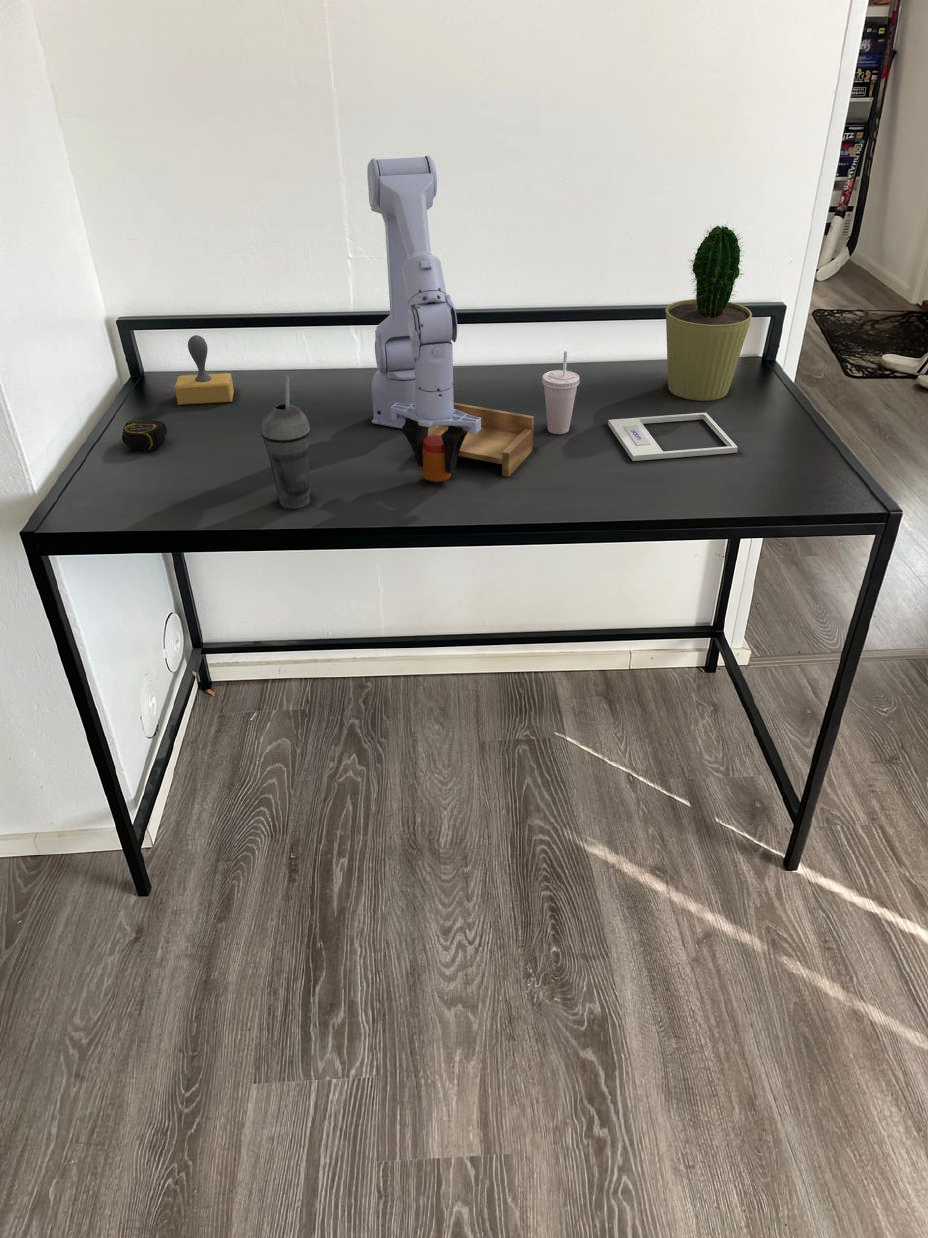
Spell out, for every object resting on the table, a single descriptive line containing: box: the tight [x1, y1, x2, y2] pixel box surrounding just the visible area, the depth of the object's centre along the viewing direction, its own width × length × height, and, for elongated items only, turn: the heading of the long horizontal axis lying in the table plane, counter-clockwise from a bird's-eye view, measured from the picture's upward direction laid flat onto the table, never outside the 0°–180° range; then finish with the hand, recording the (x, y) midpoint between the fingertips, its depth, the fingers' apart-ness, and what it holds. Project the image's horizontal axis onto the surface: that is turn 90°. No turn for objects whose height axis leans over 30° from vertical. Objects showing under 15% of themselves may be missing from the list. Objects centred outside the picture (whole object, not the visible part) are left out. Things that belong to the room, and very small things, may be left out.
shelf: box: [428, 402, 535, 478], centre depth 156 cm, size 16×11×6 cm, turn 65°
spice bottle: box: [422, 435, 452, 483], centre depth 148 cm, size 4×4×6 cm
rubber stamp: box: [174, 334, 235, 406], centre depth 176 cm, size 10×6×12 cm, turn 97°
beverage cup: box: [260, 375, 312, 510], centre depth 140 cm, size 7×7×20 cm
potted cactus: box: [664, 221, 753, 401], centre depth 172 cm, size 15×15×30 cm
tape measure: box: [121, 420, 168, 451], centre depth 161 cm, size 7×7×4 cm
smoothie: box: [541, 350, 580, 435], centre depth 162 cm, size 6×6×14 cm
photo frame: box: [607, 412, 739, 462], centre depth 162 cm, size 15×1×18 cm
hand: (436, 467), depth 149 cm, fingers closed on spice bottle, 4 cm apart
